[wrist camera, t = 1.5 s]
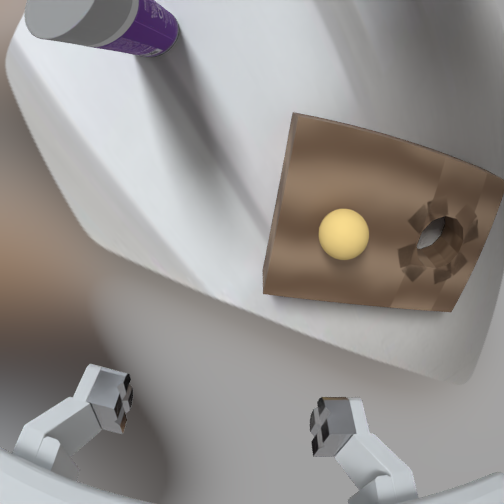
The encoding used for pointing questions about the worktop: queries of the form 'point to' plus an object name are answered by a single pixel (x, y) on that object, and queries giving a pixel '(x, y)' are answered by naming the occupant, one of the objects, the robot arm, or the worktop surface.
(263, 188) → the worktop surface
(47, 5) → the container
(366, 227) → the ball
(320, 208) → the board
